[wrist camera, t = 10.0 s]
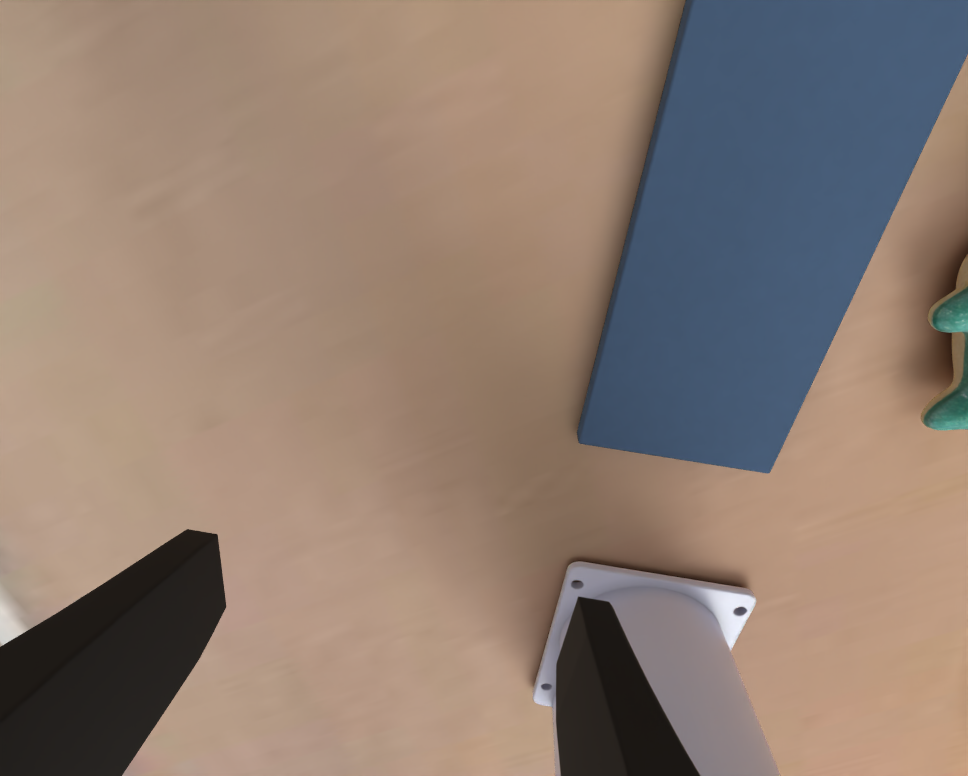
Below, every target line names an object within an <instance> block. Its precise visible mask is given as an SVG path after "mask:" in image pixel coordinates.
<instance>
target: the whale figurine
mask: <svg viewBox="0 0 968 776" xmlns="http://www.w3.org/2000/svg"><path fill="white" fill-rule="evenodd" d="M928 321H929V323H930V325H931V326H932V327H933V328H934V329H936V330H938V331H940V332H947V333H951V332H952V361H953V369H954V378H953V382H952V384H951V385H950V386H949V387H948V388H947V389H946V390H944V391H943V392H941V393H940V394H938V395H937V396H935V397H934V398H933V399H932V400H931V401H930V402H929V403H928V404H927V405H926V407H925V408H924V409H923V411H922V413H921V420H922V422H923V423H924V425H926V426H927V427H929V428H932V429H935V430H957V429H968V254H967V256H966V257H965V259H964V260H963V262H962V264H961V267H960V270H959V273H958V277H957V282H956V290H954V291H953V292H951V293H950V294H948V295H947V296H945V297H943V298H942V299H940V300H939V301H938V302H936V303H935V304H934V305H933V306H932V307H931V308H930V310H929V313H928Z"/></svg>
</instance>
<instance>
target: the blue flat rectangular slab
mask: <svg viewBox="0 0 968 776" xmlns="http://www.w3.org/2000/svg"><path fill="white" fill-rule="evenodd" d="M967 54H968V0H686V2H685V6H684V10H683V14H682V18H681V22H680V26H679V30H678V34H677V38H676V42H675V46H674V50H673V54H672V57H671V61H670V65H669V69H668V73H667V77H666V81H665V85H664V89H663V93H662V97H661V101H660V105H659V109H658V113H657V117H656V121H655V125H654V129H653V133H652V137H651V141H650V145H649V149H648V153H647V157H646V161H645V165H644V169H643V173H642V176H641V180H640V184H639V188H638V192H637V196H636V200H635V204H634V208H633V212H632V216H631V220H630V224H629V228H628V232H627V236H626V240H625V244H624V248H623V252H622V256H621V260H620V264H619V268H618V272H617V276H616V280H615V284H614V288H613V292H612V295H611V299H610V303H609V307H608V311H607V315H606V319H605V323H604V327H603V331H602V335H601V339H600V343H599V347H598V351H597V355H596V359H595V363H594V367H593V371H592V375H591V379H590V383H589V387H588V391H587V395H586V399H585V403H584V407H583V411H582V414H581V418H580V422H579V426H578V430H577V435H578V441H579V443H580V444H585V445H592V446H598V447H604V448H611V449H617V450H623V451H629V452H636V453H642V454H648V455H655V456H661V457H667V458H674V459H680V460H686V461H693V462H699V463H705V464H712V465H718V466H724V467H730V468H737V469H743V470H749V471H756V472H762V473H770V471H771V469H772V467H773V465H774V463H775V461H776V459H777V457H778V454H779V452H780V450H781V448H782V446H783V444H784V442H785V440H786V438H787V435H788V433H789V431H790V429H791V427H792V425H793V423H794V421H795V419H796V416H797V414H798V412H799V410H800V408H801V406H802V404H803V402H804V399H805V397H806V395H807V393H808V391H809V389H810V387H811V385H812V383H813V380H814V378H815V376H816V374H817V372H818V370H819V368H820V366H821V363H822V361H823V359H824V357H825V355H826V353H827V351H828V349H829V347H830V344H831V342H832V340H833V338H834V336H835V334H836V332H837V330H838V327H839V325H840V323H841V321H842V319H843V317H844V315H845V313H846V311H847V308H848V306H849V304H850V302H851V300H852V298H853V296H854V294H855V292H856V289H857V287H858V285H859V283H860V281H861V279H862V277H863V275H864V272H865V270H866V268H867V266H868V264H869V262H870V260H871V258H872V256H873V253H874V251H875V249H876V247H877V245H878V243H879V241H880V239H881V236H882V234H883V232H884V230H885V228H886V226H887V224H888V222H889V220H890V217H891V215H892V213H893V211H894V209H895V207H896V205H897V203H898V201H899V198H900V196H901V194H902V192H903V190H904V188H905V186H906V184H907V181H908V179H909V177H910V175H911V173H912V171H913V169H914V167H915V165H916V162H917V160H918V158H919V156H920V154H921V152H922V150H923V148H924V145H925V143H926V141H927V139H928V137H929V135H930V133H931V131H932V129H933V126H934V124H935V122H936V120H937V118H938V116H939V114H940V112H941V109H942V107H943V105H944V103H945V101H946V99H947V97H948V95H949V93H950V90H951V88H952V86H953V84H954V82H955V80H956V78H957V76H958V74H959V71H960V69H961V67H962V65H963V63H964V61H965V59H966V57H967Z"/></svg>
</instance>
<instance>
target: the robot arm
mask: <svg viewBox="0 0 968 776" xmlns="http://www.w3.org/2000/svg"><path fill="white" fill-rule="evenodd" d="M575 580H579V582H574V581H575ZM755 604H756V598H755V596H754V594H753V592H752V591H751V590H750V589H747V588H742V587H736V586H730V585H724V584H717V583H711V582H705V581H699V580H693V579H687V578H680V577H674V576H668V575H662V574H656V573H650V572H644V571H637V570H631V569H625V568H619V567H613V566H607V565H600V564H594V563H588V562H582V561H576V562H573V563H571V564H570V565H569V566H568V568H567V572H566V575H565V579H564V582H563V586H562V589H561V593H560V596H559V600H558V603H557V607H556V611H555V614H554V618H553V621H552V625H551V628H550V632H549V635H548V639H547V642H546V646H545V650H544V653H543V657H542V660H541V664H540V667H539V671H538V674H537V678H536V681H535V685H534V689H533V700H534V702H536V703H537V704H540V705H545V706H551V707H552V709H553V733H554V758H555V776H781V775H780V773H779V770H778V768H777V765H776V763H775V760H774V758H773V755H772V753H771V750H770V748H769V745H768V743H767V740H766V738H765V735H764V733H763V730H762V728H761V726H760V723H759V721H758V718H757V716H756V713H755V711H754V708H753V706H752V703H751V701H750V698H749V696H748V693H747V691H746V688H745V686H744V683H743V681H742V678H741V676H740V673H739V671H738V668H737V666H736V663H735V661H734V658H733V656H732V653H731V649H732V647H733V646H734V644H735V642H736V640H737V638H738V636H739V634H740V632H741V631H742V629H743V627H744V625H745V623H746V621H747V619H748V617H749V616H750V614H751V612H752V610H753V608H754V606H755ZM737 607H739V608H737ZM225 608H226V600H225V592H224V584H223V576H222V568H221V559H220V551H219V543H218V535H217V534H212V533H206V532H200V531H194V530H189V529H187V530H185V531H184V532H182V533H181V534H179V535H177V536H176V537H174V538H173V539H171V540H170V541H168V542H167V543H165V544H164V545H162V546H160V547H159V548H157V549H156V550H154V551H153V552H151V553H150V554H148V555H147V556H145V557H144V558H142V559H141V560H139V561H138V562H136V563H134V564H133V565H131V566H130V567H128V568H127V569H125V570H124V571H122V572H121V573H119V574H118V575H116V576H115V577H113V578H111V579H110V580H108V581H107V582H105V583H104V584H102V585H101V586H99V587H97V588H96V589H94V590H93V591H91V592H90V593H88V594H86V595H85V596H83V597H82V598H80V599H79V600H77V601H75V602H74V603H72V604H71V605H69V606H68V607H66V608H64V609H63V610H61V611H60V612H58V613H56V614H55V615H53V616H51V617H50V618H48V619H46V620H45V621H43V622H41V623H40V624H38V625H36V626H35V627H33V628H31V629H30V630H28V631H26V632H25V633H23V634H21V635H20V636H18V637H16V638H15V639H13V640H11V641H9V642H8V643H6V644H4V645H3V646H1V647H0V776H122V775H123V773H124V772H125V770H126V769H127V767H128V766H129V764H130V763H131V761H132V760H133V758H134V757H135V755H136V754H137V752H138V751H139V749H140V748H141V746H142V745H143V743H144V742H145V740H146V739H147V737H148V736H149V734H150V733H151V731H152V730H153V728H154V727H155V725H156V724H157V722H158V721H159V719H160V718H161V716H162V715H163V713H164V712H165V710H166V709H167V707H168V706H169V704H170V703H171V701H172V700H173V698H174V697H175V695H176V694H177V692H178V691H179V689H180V688H181V686H182V685H183V683H184V682H185V680H186V679H187V677H188V676H189V674H190V672H191V671H192V669H193V668H194V666H195V665H196V663H197V662H198V660H199V658H200V657H201V655H202V653H203V651H204V649H205V647H206V645H207V643H208V642H209V640H210V638H211V636H212V634H213V632H214V630H215V628H216V626H217V624H218V622H219V620H220V618H221V616H222V614H223V612H224V610H225Z"/></svg>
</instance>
